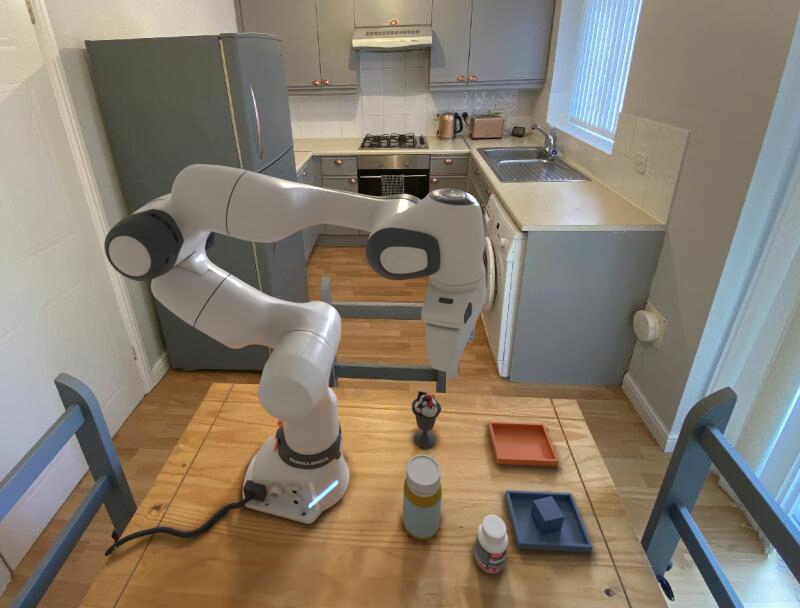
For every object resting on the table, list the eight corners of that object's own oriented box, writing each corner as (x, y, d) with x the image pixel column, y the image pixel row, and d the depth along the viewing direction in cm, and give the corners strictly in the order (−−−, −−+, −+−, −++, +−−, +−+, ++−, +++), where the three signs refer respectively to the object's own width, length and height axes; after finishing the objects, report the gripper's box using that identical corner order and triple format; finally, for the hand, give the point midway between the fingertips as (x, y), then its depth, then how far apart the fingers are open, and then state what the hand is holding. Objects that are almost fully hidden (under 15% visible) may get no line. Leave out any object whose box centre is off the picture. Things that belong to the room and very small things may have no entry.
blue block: (542, 535, 79) (545, 521, 77) (530, 513, 82) (533, 500, 81) (561, 530, 79) (564, 516, 78) (548, 509, 83) (551, 495, 82)
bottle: (438, 545, 78) (442, 491, 72) (400, 537, 79) (402, 483, 73) (439, 508, 84) (443, 455, 78) (405, 501, 86) (406, 449, 80)
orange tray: (497, 465, 93) (498, 458, 92) (487, 427, 102) (488, 421, 101) (557, 467, 92) (558, 461, 91) (542, 429, 101) (543, 423, 100)
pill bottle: (488, 580, 73) (493, 549, 69) (468, 551, 77) (472, 520, 73) (510, 564, 75) (516, 532, 71) (490, 536, 79) (494, 505, 76)
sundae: (436, 454, 95) (439, 405, 89) (407, 446, 97) (409, 397, 91) (441, 431, 101) (444, 383, 95) (414, 424, 103) (415, 376, 97)
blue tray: (517, 550, 77) (519, 543, 76) (504, 496, 86) (505, 489, 85) (590, 554, 76) (592, 547, 75) (569, 499, 85) (571, 492, 85)
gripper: (457, 256, 77) (460, 319, 82) (416, 319, 61) (423, 393, 66) (491, 260, 74) (493, 325, 79) (458, 327, 58) (463, 403, 63)
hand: (461, 356), depth 72 cm, fingers open, 8 cm apart
